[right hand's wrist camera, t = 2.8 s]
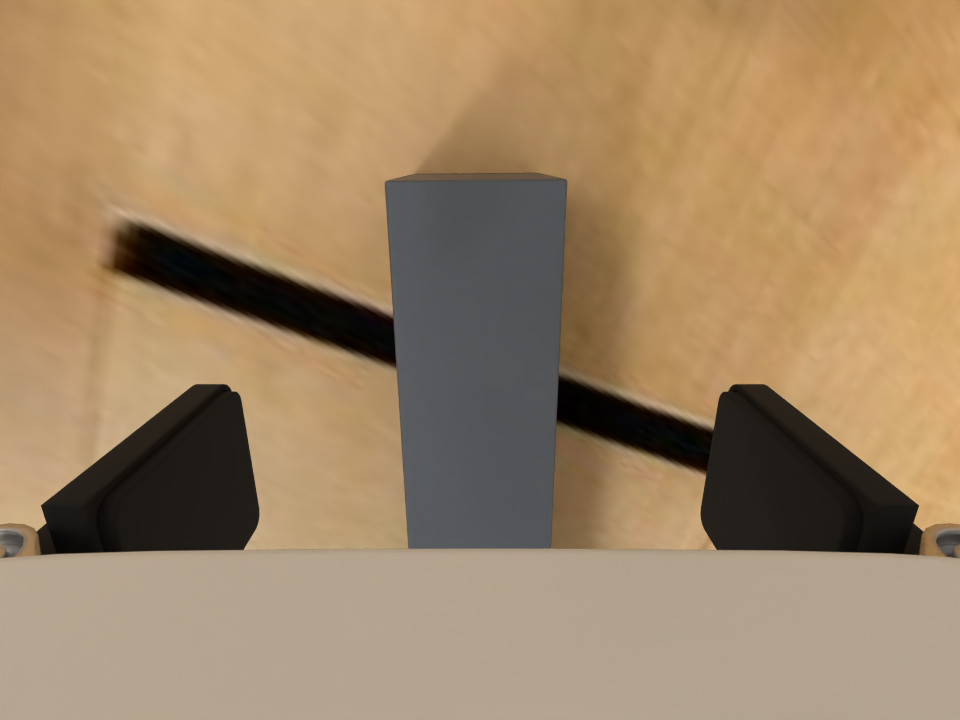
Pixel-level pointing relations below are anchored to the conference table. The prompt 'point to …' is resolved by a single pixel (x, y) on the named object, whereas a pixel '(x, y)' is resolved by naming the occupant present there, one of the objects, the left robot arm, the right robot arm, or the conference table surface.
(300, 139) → the conference table surface
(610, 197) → the conference table surface
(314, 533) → the conference table surface
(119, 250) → the conference table surface
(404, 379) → the beam
